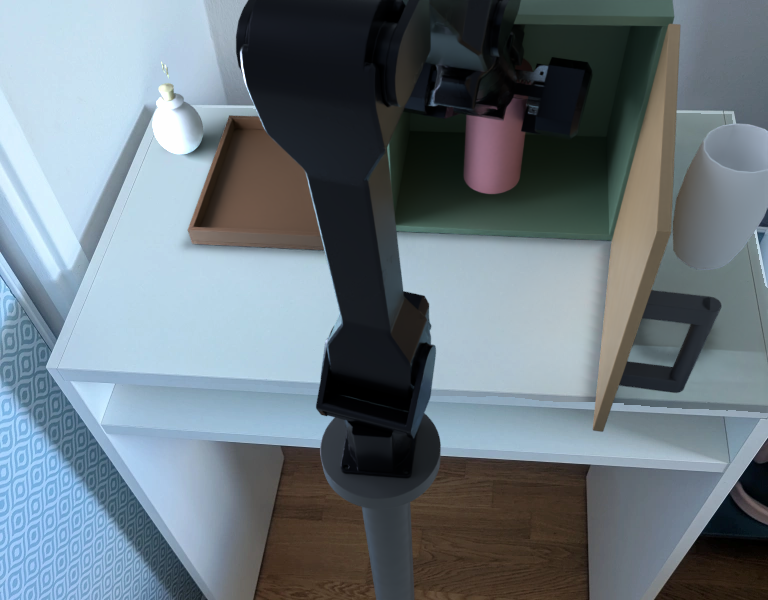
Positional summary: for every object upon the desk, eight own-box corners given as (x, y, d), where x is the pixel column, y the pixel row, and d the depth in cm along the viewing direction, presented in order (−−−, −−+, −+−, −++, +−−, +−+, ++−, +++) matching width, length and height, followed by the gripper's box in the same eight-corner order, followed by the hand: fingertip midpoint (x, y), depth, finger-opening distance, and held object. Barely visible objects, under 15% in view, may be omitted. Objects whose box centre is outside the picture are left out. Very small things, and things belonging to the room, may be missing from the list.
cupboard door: (674, 250, 83) (753, 28, 63) (666, 441, 71) (761, 241, 51) (610, 244, 84) (668, 23, 64) (592, 430, 72) (656, 231, 52)
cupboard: (615, 241, 84) (674, 16, 64) (386, 231, 87) (373, 12, 67) (611, 139, 93) (663, -88, 72) (404, 133, 96) (397, -87, 75)
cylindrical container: (518, 195, 85) (531, 90, 74) (461, 193, 85) (466, 88, 75) (521, 158, 88) (533, 53, 77) (465, 156, 88) (470, 51, 78)
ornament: (160, 167, 95) (133, 89, 86) (162, 131, 99) (136, 52, 90) (208, 161, 95) (186, 83, 86) (209, 125, 99) (187, 46, 90)
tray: (338, 251, 86) (336, 236, 84) (191, 244, 88) (187, 230, 86) (364, 133, 96) (362, 118, 94) (232, 129, 98) (228, 115, 96)
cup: (640, 360, 76) (706, 180, 58) (628, 307, 79) (687, 121, 61) (714, 357, 76) (803, 175, 57) (698, 304, 79) (778, 116, 61)
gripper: (610, -30, 62) (608, 36, 76) (393, -56, 65) (431, 12, 80) (572, 119, 65) (578, 155, 79) (368, 86, 69) (409, 127, 83)
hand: (499, 109), depth 80 cm, fingers closed on cylindrical container, 6 cm apart
